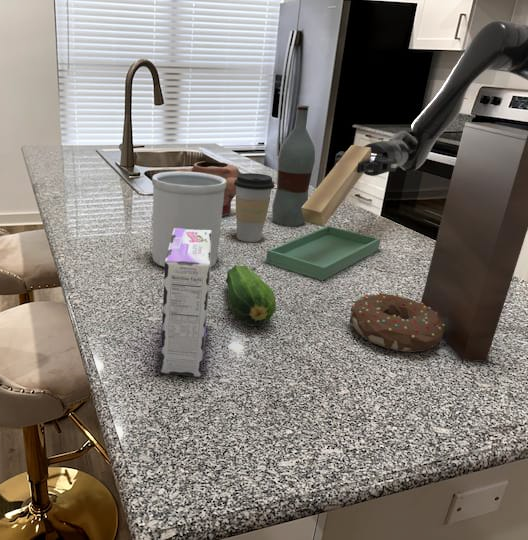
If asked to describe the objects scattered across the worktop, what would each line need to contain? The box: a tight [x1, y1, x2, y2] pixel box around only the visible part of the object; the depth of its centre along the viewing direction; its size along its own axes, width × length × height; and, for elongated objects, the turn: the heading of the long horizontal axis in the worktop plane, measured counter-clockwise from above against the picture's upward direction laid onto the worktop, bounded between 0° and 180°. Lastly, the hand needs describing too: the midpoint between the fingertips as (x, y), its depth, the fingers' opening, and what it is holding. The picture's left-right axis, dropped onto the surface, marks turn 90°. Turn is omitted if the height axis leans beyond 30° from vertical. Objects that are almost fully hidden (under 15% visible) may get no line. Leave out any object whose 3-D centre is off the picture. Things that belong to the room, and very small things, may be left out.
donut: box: [349, 292, 445, 353], centre depth 80 cm, size 14×14×5 cm
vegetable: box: [225, 264, 277, 327], centre depth 88 cm, size 7×7×20 cm
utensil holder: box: [151, 170, 227, 268], centre depth 106 cm, size 15×15×18 cm
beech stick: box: [301, 144, 371, 228], centre depth 109 cm, size 4×22×4 cm, turn 137°
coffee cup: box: [234, 172, 276, 243], centre depth 121 cm, size 9×9×15 cm
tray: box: [265, 225, 382, 282], centre depth 114 cm, size 27×13×3 cm, turn 137°
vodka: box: [271, 104, 316, 227], centre depth 133 cm, size 9×9×30 cm
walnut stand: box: [420, 121, 528, 362], centre depth 76 cm, size 4×16×32 cm, turn 177°
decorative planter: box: [177, 160, 241, 217], centre depth 141 cm, size 20×12×14 cm, turn 91°
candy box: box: [159, 228, 212, 378], centre depth 71 cm, size 14×6×16 cm, turn 174°
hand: (348, 165), depth 110 cm, fingers closed on beech stick, 4 cm apart
